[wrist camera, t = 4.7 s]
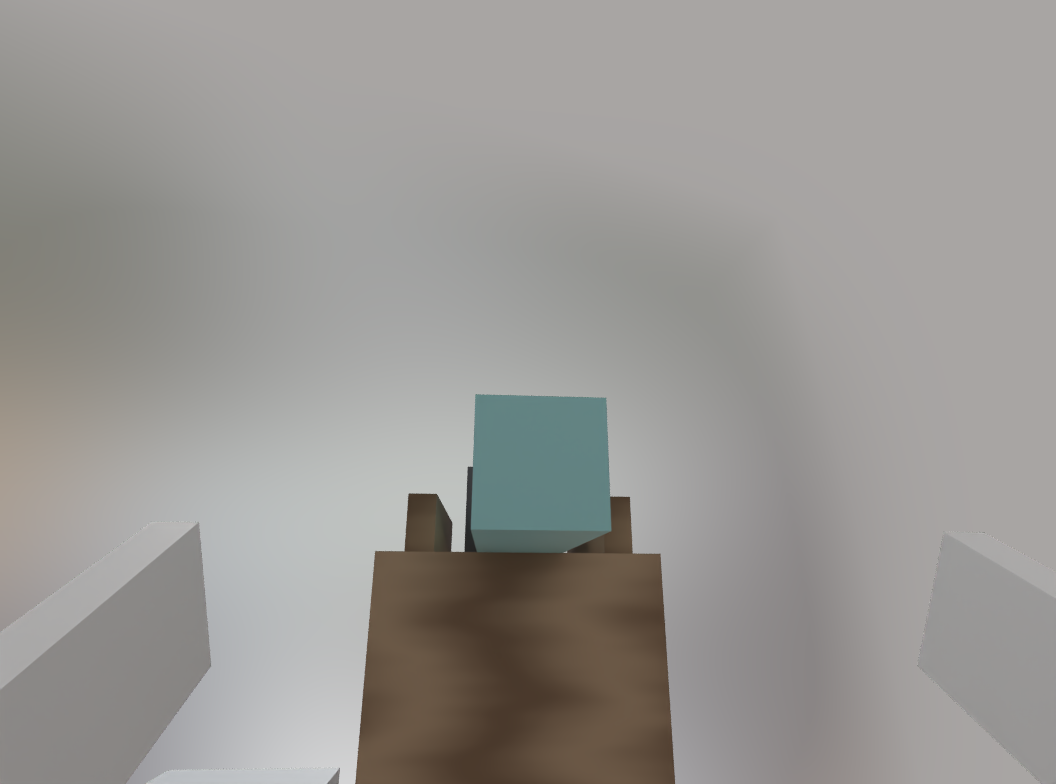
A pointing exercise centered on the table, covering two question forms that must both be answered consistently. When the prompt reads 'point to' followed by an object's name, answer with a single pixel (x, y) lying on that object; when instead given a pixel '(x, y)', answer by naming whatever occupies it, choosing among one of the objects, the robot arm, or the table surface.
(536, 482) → the teal square rod
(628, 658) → the post
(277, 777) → the band block
